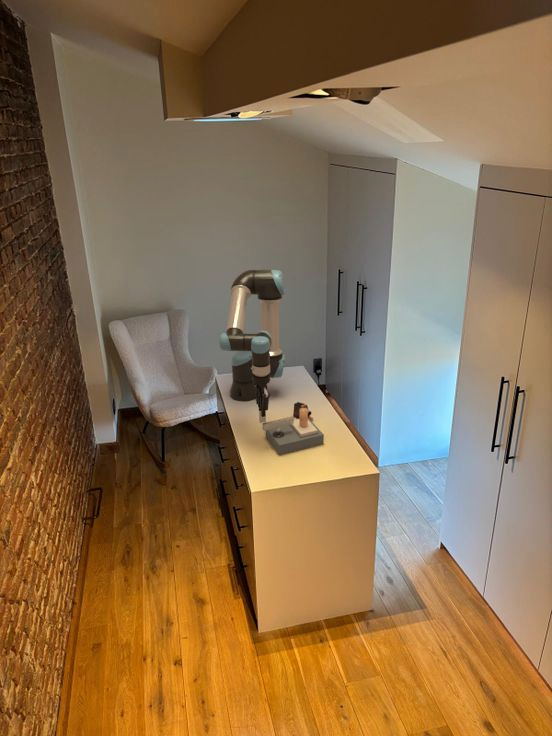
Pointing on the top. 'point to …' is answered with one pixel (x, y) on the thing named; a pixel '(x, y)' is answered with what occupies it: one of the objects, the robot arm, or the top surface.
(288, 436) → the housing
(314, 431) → the cover
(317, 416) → the top surface
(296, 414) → the electronic device
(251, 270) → the robot arm
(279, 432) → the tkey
